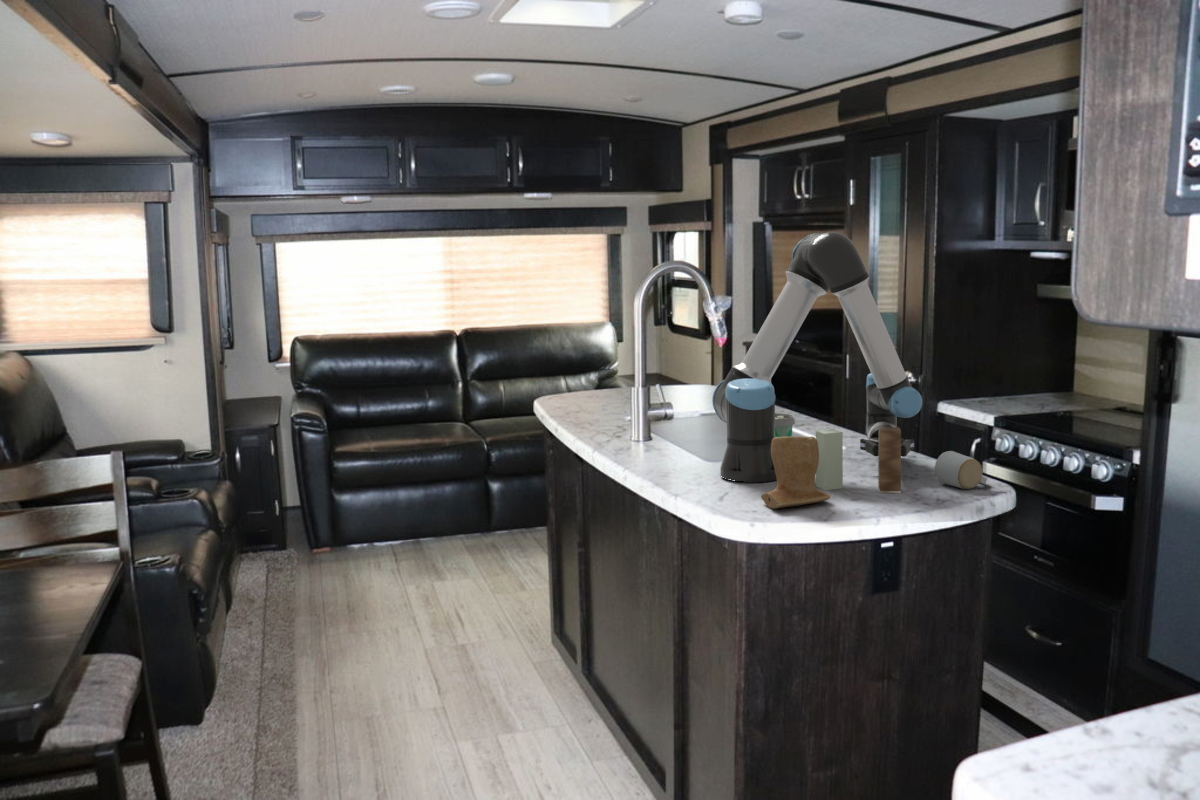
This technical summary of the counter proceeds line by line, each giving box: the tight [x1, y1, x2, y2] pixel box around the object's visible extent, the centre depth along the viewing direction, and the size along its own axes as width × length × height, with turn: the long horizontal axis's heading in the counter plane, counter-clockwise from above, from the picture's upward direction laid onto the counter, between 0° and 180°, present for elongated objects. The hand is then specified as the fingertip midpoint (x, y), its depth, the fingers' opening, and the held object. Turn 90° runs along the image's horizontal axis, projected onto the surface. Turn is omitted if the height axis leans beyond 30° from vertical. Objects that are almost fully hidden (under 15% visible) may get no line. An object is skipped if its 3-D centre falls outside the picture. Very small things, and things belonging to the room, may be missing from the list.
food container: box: [775, 412, 796, 437], centre depth 269 cm, size 12×6×10 cm, turn 168°
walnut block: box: [877, 426, 902, 494], centre depth 219 cm, size 4×4×14 cm
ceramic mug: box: [934, 450, 988, 490], centre depth 221 cm, size 11×8×8 cm
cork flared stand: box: [760, 435, 832, 509], centre depth 210 cm, size 15×12×15 cm
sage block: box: [815, 428, 844, 491], centre depth 224 cm, size 4×4×13 cm
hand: (892, 457), depth 222 cm, fingers closed
